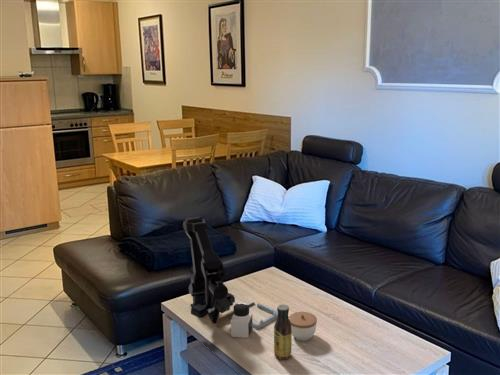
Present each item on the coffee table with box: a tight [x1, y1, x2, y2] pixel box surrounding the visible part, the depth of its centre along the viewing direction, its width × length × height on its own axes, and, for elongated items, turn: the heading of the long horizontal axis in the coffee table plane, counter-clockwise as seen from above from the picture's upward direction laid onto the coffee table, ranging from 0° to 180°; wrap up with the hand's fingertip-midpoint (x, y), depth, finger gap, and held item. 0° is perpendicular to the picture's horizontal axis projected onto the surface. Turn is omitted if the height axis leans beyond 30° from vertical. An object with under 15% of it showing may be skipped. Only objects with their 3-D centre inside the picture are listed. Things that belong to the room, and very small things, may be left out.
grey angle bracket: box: [252, 302, 278, 330], centre depth 203 cm, size 12×14×2 cm
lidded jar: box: [288, 311, 318, 342], centre depth 187 cm, size 11×11×9 cm
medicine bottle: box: [230, 302, 254, 339], centre depth 191 cm, size 7×7×12 cm
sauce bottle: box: [273, 304, 293, 361], centre depth 174 cm, size 6×6×20 cm
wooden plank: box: [215, 309, 234, 326], centre depth 202 cm, size 1×14×2 cm, turn 135°
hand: (214, 323), depth 197 cm, fingers closed
